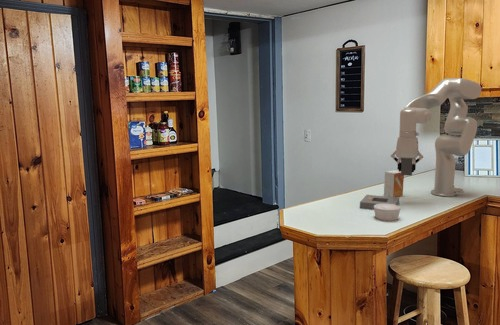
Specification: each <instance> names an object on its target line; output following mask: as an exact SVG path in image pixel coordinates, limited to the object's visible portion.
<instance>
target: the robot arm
mask: <svg viewBox="0 0 500 325" xmlns="http://www.w3.org/2000/svg"><path fill="white" fill-rule="evenodd" d="M481 94H482V86H481V84H480V83H478V82H476V81H475V80H471V79H468V78H462V77H454V78H453V77H450V78H449V77H448V78H443V79H442V80H440V81H439V82H438V83H437V84H436V85H435V86H434V87H433V88H432V89H431V90H430V91H429V92H428V93H425V94H424V95H421V96H419V97H418V98H415V99H413V100H412V101H410V102H409V103H408V104H406V106H405V107H404V108H403V109H401V110H400V113H399V136H398V137H397V139H396V140H397V141H396V146H395V147H396V148H395V150H394V152H393V153H392V154H391V155H390V158H392V159H393V160H394V161H395V162H396V164H397V168H396V169H397V171H399V172H400V171H401V158H412V159H413V160H412V173H414V172H415V171H416V168H417V167H416V164H417V163H419V162H420V161H421V160H422V159H423V158H424V155H423V154H422V153H421V152H420V151H419V140H418V137H417V136H420V133H419V132H417V124H427V123H429V121H430V120H431V119H432V112H431V111H430V110H431V109H435V108H437V107H440V106H441V105H443V103H444V102H445V101H446V100H447V99H448V100H449V103H450V108H449V111H448V113H447V117H446V120H445V122H444V123H445V124H444V125H443V126H444V128H443V129H444V132H445V133H446V134H449V135H446V134H444V135H439V136H438V137H437V138H435V141H434V149H435V170H434V171H435V172H434V187H433V188H434V189H432V190H431V191H430V194H432V195H433V196H438V197H439V196H440V197H455V196H457V193H461V194H462V193H464V189H463V188H461V187H458V188H457V187H455V173H456V159H455V155H456V156H466V155H468V153H469V152H470V150H471V148H472V146H473V143H474V140H475V137H476V134H477V131H478V123H477V120H476V119H475V118H473V117H470V116H467V115H468V114H467V113H468V105H467V103H466V102H465V101H464V100H474V99H478V98H479V97H480V96H481Z"/></svg>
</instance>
